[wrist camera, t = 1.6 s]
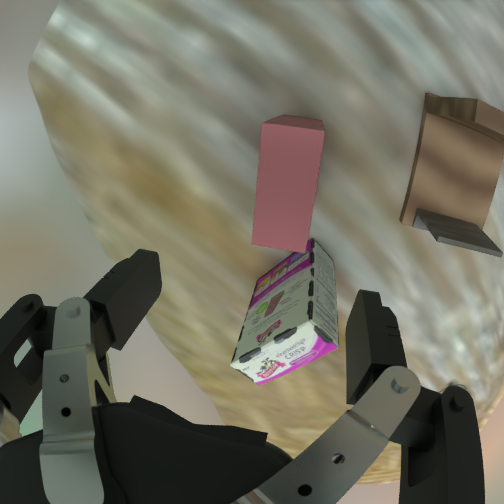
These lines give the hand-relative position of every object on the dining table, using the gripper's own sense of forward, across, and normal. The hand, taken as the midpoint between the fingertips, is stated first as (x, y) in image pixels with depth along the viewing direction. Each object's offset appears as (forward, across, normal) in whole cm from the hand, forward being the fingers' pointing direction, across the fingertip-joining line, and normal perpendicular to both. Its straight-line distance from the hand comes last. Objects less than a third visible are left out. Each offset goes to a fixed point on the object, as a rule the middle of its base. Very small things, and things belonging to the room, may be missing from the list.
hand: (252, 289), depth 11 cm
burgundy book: (+26, 0, 0) cm, 26 cm away
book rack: (+26, -21, -3) cm, 34 cm away
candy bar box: (+27, -2, +16) cm, 31 cm away
